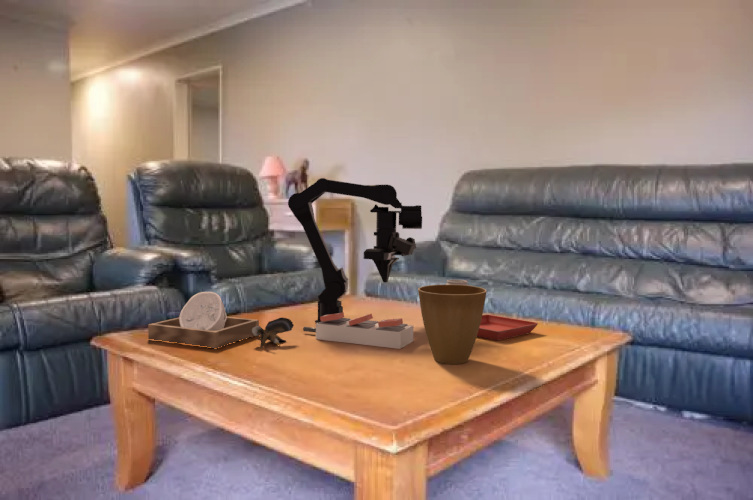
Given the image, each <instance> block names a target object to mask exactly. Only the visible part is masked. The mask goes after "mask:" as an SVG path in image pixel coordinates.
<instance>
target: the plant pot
mask: <svg viewBox="0 0 753 500" xmlns="http://www.w3.org/2000/svg"><path fill="white" fill-rule="evenodd" d="M417 290H418V291H417V292H418V299H419V305H420V312H421V317H422V323H423V327H424V331H425V334H426V338H427V342H428V345H429V348H430V351H431V354H432V357H433V358H434V361H435V362H437V363H440V364H446V365H461V364H465V363H467V362H468V360H469V358H470V356H471V354H472V351H473V349H474V346H475V343H476V340H477V337H478V336H477V334H478V331H479V327H480V323H481V319H482V315H484V308H485V302H486V297H487V291H488V290H487V289H486V288H484V287H480V286H476V285H469V284H468V285H453V284H447V283H445V284H432V285H423V286H420V287H418V288H417Z"/></svg>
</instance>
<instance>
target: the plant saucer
mask: <svg viewBox="0 0 753 500" xmlns="http://www.w3.org/2000/svg"><path fill="white" fill-rule="evenodd" d="M538 325H539V323H538V322H537V321H536V322H535V321H528V320H522V319H517V318H512V317H506V316H505V317H504V316H498V315H494V314H493V315H492V314H482V319H481V323H480V327H479V331H478V334H477V337H479V338H484V339H488V340H492V341H501V339H502V340H506V339H510V337H511V338H515V337H514V336H516V337H519V336H518V335H520V336H524V335H523V334H525V335H528V334H527V333H529V334H530V333H531V332H532V331H533V330H534V329H536V327H537V326H538ZM505 338H506V339H505Z"/></svg>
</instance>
